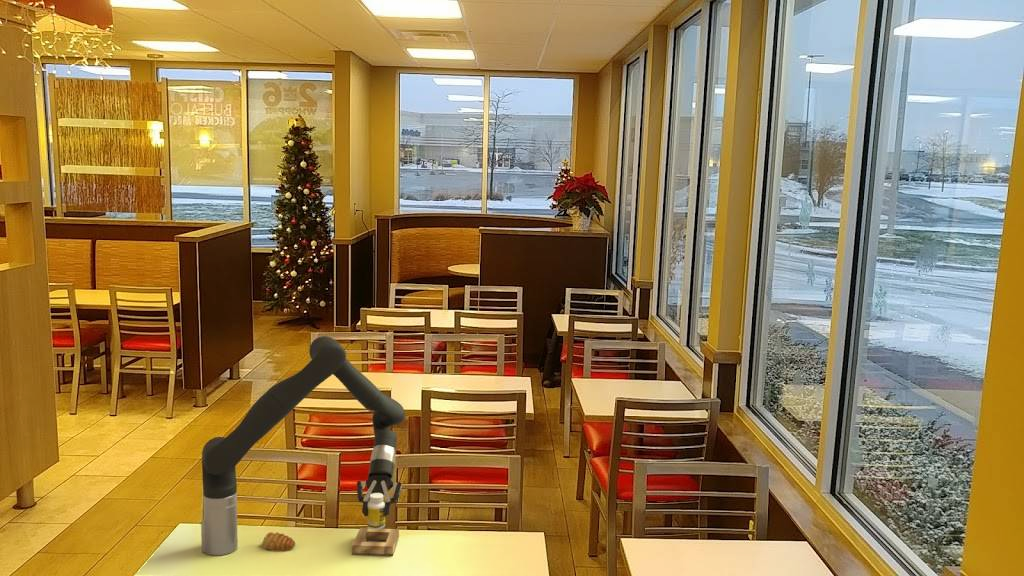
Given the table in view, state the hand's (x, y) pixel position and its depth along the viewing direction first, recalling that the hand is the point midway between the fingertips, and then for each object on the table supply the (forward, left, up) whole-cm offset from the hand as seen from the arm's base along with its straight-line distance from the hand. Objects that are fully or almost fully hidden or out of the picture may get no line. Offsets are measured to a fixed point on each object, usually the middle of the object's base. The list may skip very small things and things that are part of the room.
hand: (375, 515), depth 238 cm
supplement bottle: (0, +2, -4) cm, 5 cm away
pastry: (-29, 0, -11) cm, 31 cm away
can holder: (0, +2, -10) cm, 11 cm away
